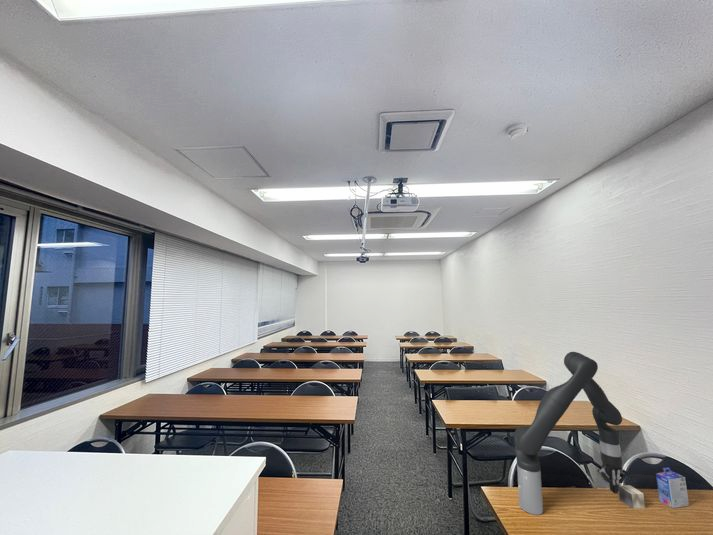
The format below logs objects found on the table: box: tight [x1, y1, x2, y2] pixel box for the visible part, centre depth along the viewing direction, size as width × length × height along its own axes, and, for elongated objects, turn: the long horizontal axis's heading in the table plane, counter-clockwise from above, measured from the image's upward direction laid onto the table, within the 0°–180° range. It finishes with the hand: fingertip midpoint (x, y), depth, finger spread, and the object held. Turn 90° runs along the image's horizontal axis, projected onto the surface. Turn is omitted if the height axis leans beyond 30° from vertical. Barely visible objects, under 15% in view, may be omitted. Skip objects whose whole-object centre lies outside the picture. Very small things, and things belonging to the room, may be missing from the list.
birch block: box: [618, 484, 646, 510], centre depth 134 cm, size 6×6×6 cm
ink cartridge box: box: [655, 466, 690, 509], centre depth 135 cm, size 10×6×14 cm, turn 101°
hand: (614, 492), depth 133 cm, fingers closed
